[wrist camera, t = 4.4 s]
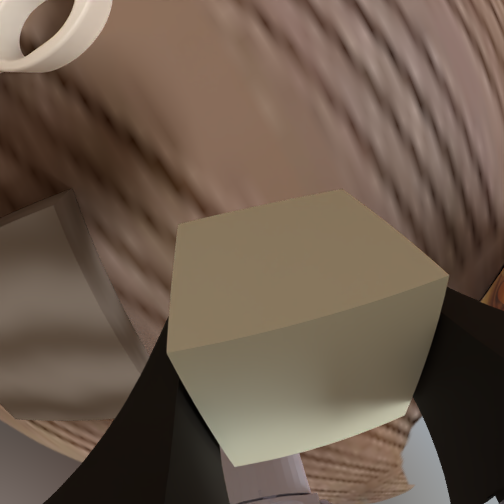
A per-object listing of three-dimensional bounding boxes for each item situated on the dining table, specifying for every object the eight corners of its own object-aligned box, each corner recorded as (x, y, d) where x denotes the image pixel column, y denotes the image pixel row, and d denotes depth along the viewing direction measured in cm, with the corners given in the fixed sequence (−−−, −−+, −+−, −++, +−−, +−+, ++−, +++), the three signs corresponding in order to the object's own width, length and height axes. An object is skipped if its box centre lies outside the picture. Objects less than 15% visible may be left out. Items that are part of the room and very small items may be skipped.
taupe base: (168, 387, 22) (168, 413, 20) (22, 399, 21) (15, 419, 19) (72, 188, 14) (53, 205, 12) (-75, 257, 13) (-92, 275, 11)
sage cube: (344, 313, 12) (404, 415, 7) (217, 345, 11) (234, 466, 7) (342, 188, 9) (449, 274, 5) (178, 224, 9) (166, 352, 4)
